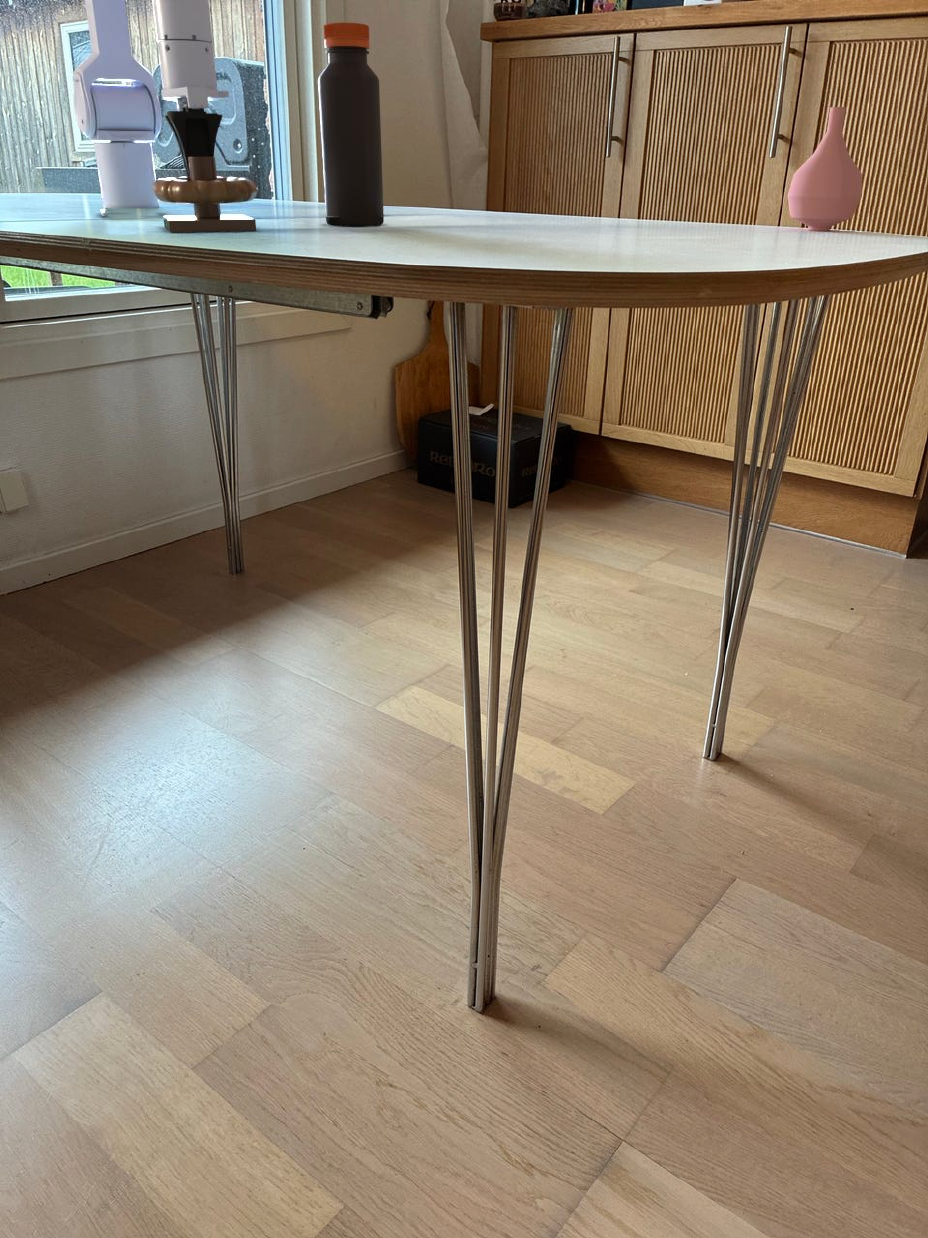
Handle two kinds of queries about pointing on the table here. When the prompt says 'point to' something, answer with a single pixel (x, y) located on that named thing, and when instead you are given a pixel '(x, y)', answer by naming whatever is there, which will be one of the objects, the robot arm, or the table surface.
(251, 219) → the wooden peg stand
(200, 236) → the table surface
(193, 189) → the scalloped wooden ring
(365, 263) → the table surface
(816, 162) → the pink vase
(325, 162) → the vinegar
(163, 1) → the robot arm
